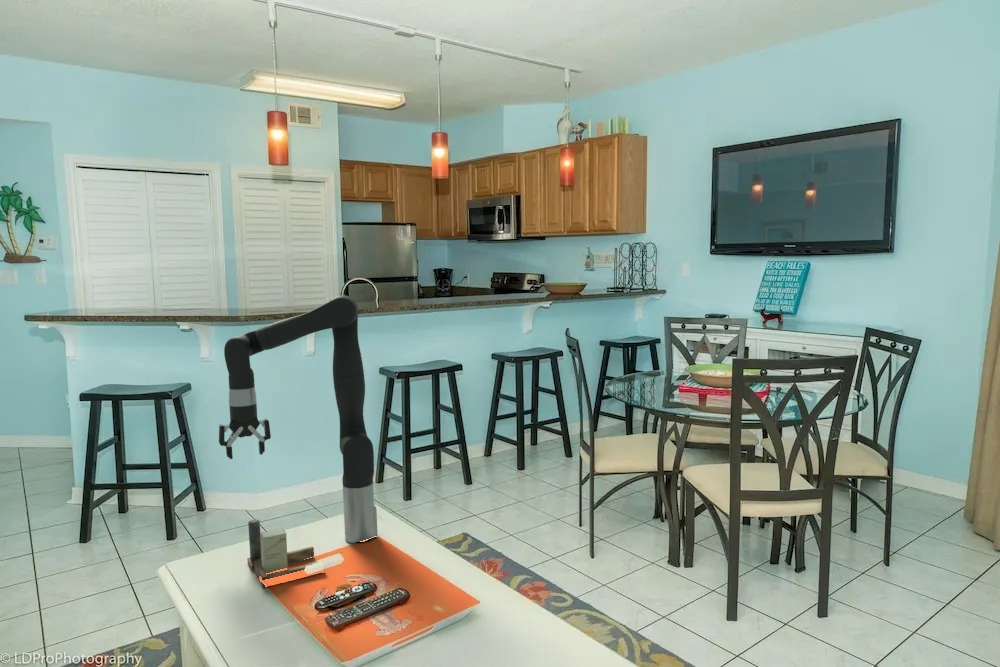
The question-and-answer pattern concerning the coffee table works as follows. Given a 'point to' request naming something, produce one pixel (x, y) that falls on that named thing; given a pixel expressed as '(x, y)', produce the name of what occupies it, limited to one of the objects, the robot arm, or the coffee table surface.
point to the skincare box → (273, 550)
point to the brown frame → (255, 554)
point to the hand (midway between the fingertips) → (246, 456)
